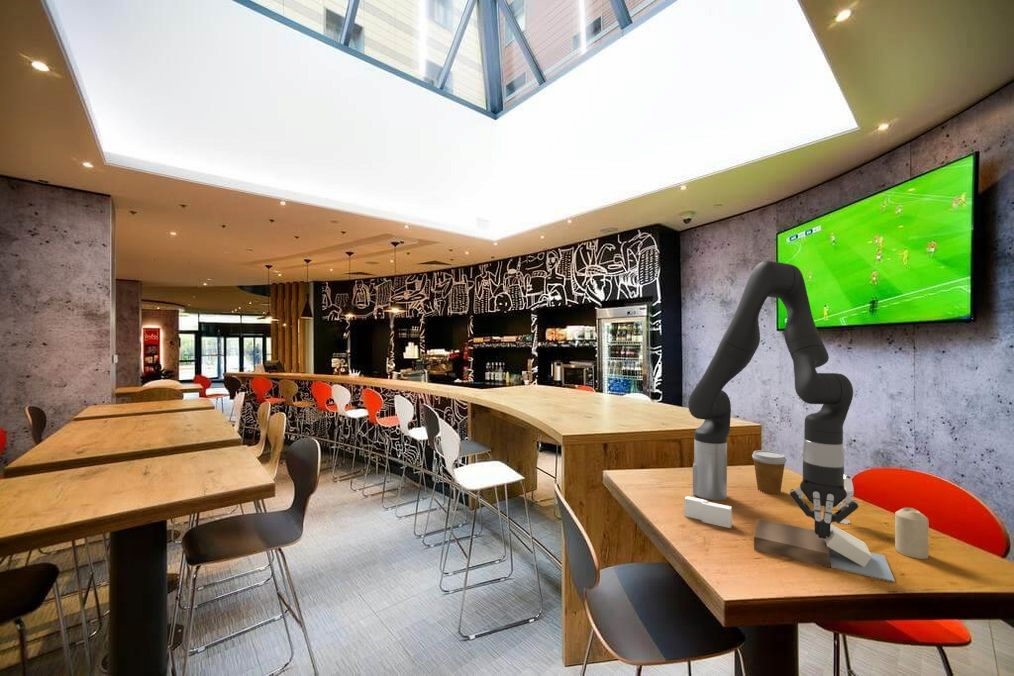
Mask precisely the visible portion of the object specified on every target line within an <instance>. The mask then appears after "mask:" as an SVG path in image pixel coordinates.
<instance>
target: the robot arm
mask: <svg viewBox="0 0 1014 676" xmlns="http://www.w3.org/2000/svg"><path fill="white" fill-rule="evenodd" d="M767 298H774V299H780V302H782V304H783V306H784V307H785V310H786V315H787V317H786V321H785V327H784V330H783V331H784V333H783V335H784V340H785V344H786V347H787V349H788V352H789V355H790V357H791V359H792V364H793V373H794V390H795V393H796V395H797V396H798V397H799V399H801V400H802V401H803V402H804V403H806V404H809V405H822V406H821V408H820V410H819V411H818V412H814V413H810V414H808V415H806V416H805V418H804V428H803V429H804V439H803V446H802V447H803V448H802V481H801V482H800V483H799V487H798V488H795V489H793V488H792V489H789V496H790V497H791V499H792V500H793V501H794V502H795V503H796V504H797V506H798V507H799V508H800V510H801V511H802V513H804V514H805V516H806V517H809V518H812V519H813V521H814V530H815V533H816V534H817V535H818V537H819V538H823V539H826V537H830V524H832V523H838V524H840V523H839V522H841V521H842V520H843V519H847V517H848V516H850V515H852V513H853V512H855V511H856V510H857V509H859V503H858V502H857V500H855V499H853V498H850V497H849V496H847V493H846V490H845V489H844V475H845V450H844V430H843V429H844V424H845V421H846V418H847V417H848V416H847V415H848V414H849V413H848V412H849V410H850V406H851V404H852V400H853V396H854V388H853V384H852V382H851V380H850V379H849V378H848V377H847V376H846V375H844V374H842V373H838V372H818V371H817V370H816V369H817V368H820V367H822V366H824V365H825V364H827V363H828V361H829V359H830V357H829V353H828V351H827V348H826V346H825V344H824V341H823V340H822V337H821V335H820V333H819V330H818V328H817V326H816V324H815V323H816V322H815V320H814V318H813V313H812V309H811V305H810V304H811V303H810V300H809V296H808V292H807V288H806V283H805V278H804V275H803V273H802V271H801V269H800V268H799V267H797V266H796V265H794V264H790V263H784V262H779V261H773V260H763V261H761V262H759V263H758V264H756V265H755V266H754V268H753V269H752V271H751V272H750V275H749V277H748V279H747V281H746V285H745V287H744V290H743V293H742V296H741V297H740V300H739V303H738V306H737V308H736V310H735V313H734V315H733V317H732V319H731V321H730V323H729V325H728V327H727V329H726V331H725V333H724V335H723V337H722V338H721V340H720V342H719V345H718V346H717V349H716V351H715V353H714V354H713V357H712V359H711V361H710V362H709V365H708V366H707V368H706V370H705V372H704V373H703V375H702V377H701V379H700V380H699V381H698V383H697V384H696V386H694V387H695V388H693V391H692V392H691V394H690V396H689V398H688V405H687V406H688V411H689V413H690V415H691V416H692V417H693V418H695V419H698V420H704V421H703V423H702V424H701V425H700V426H698V427H697V428H696V429H695V430H694V434H693V435H694V437H693V438H694V439H693V440H694V445H693V447H694V448H693V451H694V452H693V453H694V457H693V458H694V459H693V464H692V495H693V496H696V497H699V498H700V499H704V500H707V501H724V500H726V499H727V497H728V495H727V494H728V489H727V488H728V452H727V451H728V436H729V434H730V430H731V412H732V409H731V408H732V405H731V400H730V398H729V395H728V394H727V392H726V391H724V390H723V389H724V388H725V386H726V385H728V383H729V382H730V381H731V380H732V379H733V378H735V377H736V376H737V375H738V374H740V372H742V371H743V370H744V369H745V368H746V367H747V366H748V365H749V363H750V362H751V360H752V359H753V356H754V355H755V353H756V352H757V350H758V348H759V346H760V342H761V331H760V325H759V316H760V313H761V311H762V308H763V306H764V304H765V302H766V300H767ZM803 495H804V496H805V498H807V500H808V501H809V502H810V503H811V504H812V505H813V509H811V508H810V506H809V505H808V503H806V502H805V500H804V499H803V497H804V496H803ZM841 501H842V507H841V509H840V510H839V509H838V510H837V511H836V512H834V513H833V508H836V507H837V506H838V504H839V503H840V502H841ZM821 507H823V516H822V508H821ZM822 517H823V518H822Z"/></svg>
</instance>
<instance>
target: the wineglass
mask: <svg viewBox="0 0 1014 676" xmlns="http://www.w3.org/2000/svg"><path fill="white" fill-rule="evenodd" d="M844 489H845V490H846V493H847V496H849V497H850V498H851V499H853V498H852V497H853V496H854V491H855V490H854V483H853V480H852V477H851V476H849V475H847V474H844ZM837 506H838V510H840V509H841V508H842V507H843V501H841V502H840V503H839V504H838V505H837ZM850 522H851V521H850V520H849V519H848V518H845V519H843V520H842V521H841V522H839V523H838V524H842V523H844V525H849V524H851V523H850ZM848 523H849V524H848Z"/></svg>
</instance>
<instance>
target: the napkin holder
mask: <svg viewBox="0 0 1014 676" xmlns="http://www.w3.org/2000/svg"><path fill="white" fill-rule="evenodd" d="M732 508H733V507H732V506H731V505H726V504H720V503H718V502H717V503H716V502H711V501H709V500H708V499H704V498H700V497H699V498H697V497H694V496H689V495H686V496H685V497H684V517H687V518H691V519H695V520H700V521H701V523H705V524H709V525H715V526H720V527H724V528H729V529H731V528H732V526H733V519H732V517H733V511H732Z"/></svg>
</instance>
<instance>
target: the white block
mask: <svg viewBox="0 0 1014 676" xmlns="http://www.w3.org/2000/svg"><path fill="white" fill-rule="evenodd" d="M825 541H826V544H827V546H828V547H830V548H831V549H833V550H835V551H837V552H838V553H840V554H842V555H843V556H845V557H847V558H849V559H850V560H852V561H854V562H856V563H857V564H859V565H861V566H863V567H865V566H866V564H867V563H868V561H869V560H870V559H871V557H872V555H871V553H872V552H870V550H869V548H868V546H867V544H866V542H864V541H863V540H861V539H859V538H858V537H855V536H854V535H852V534H850V533H848V532H846V531H844V530H843V529H841V528H839V527H837V526H836V525H834V524H832V523H831V524H830V537H826V539H825Z"/></svg>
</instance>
